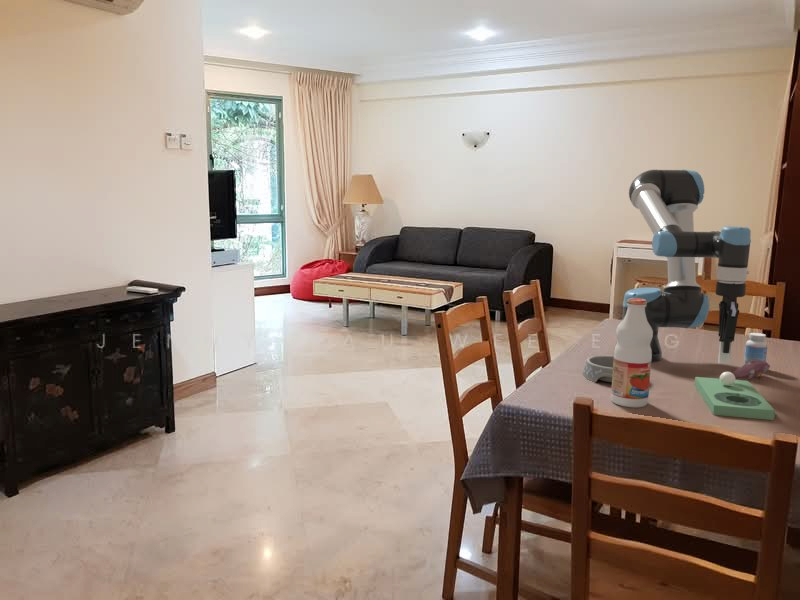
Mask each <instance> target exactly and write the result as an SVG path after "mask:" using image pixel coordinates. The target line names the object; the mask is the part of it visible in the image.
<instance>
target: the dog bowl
mask: <svg viewBox="0 0 800 600" xmlns="http://www.w3.org/2000/svg"><path fill="white" fill-rule="evenodd" d="M613 361H614V355H593V356H590V357H587V359H586V361H585V364H584V367H583V371H582V373H581V376H582V375H583V376H584V377H585V378H586V379H587V380H586V379H585V380H586V381H588V380H589V381H588V382H590V381H592V382H591V383H593V382H594V383H593V384H595V383H596V382H597V381H598V380H600V381H603V382H608V383H612V375H613Z"/></svg>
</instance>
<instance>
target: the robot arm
mask: <svg viewBox="0 0 800 600" xmlns="http://www.w3.org/2000/svg"><path fill="white" fill-rule="evenodd" d="M704 195H705V184H704V179H703V177H702V175H701V174H700V173H699V172H698V171H696V170H691V169H690V170H688V169H649V170H646V171H644V172H641V173H640V174H638V175H637V176H636V177H635V178H634V179H633V180H632V182H631V184H630V187H629V189H628V197H629V201H630V203H631V204H632V206H633V207H634V208H636V209H637V210H639V211H640V214H641V215H642V216H643V218H644V220H645V222H646V223H647V225H648V227H649V230H650V231H651V232H652V234H653V237H652V241H651V242H652V243H651V247H652V252H653V254H654V255H655V256H657V257H663V258H664V257H666V258H667V283H666V285H664V287H663V291H662V289H661V288H658V287H637V288H631V289H629V290H627V291H626V292H625V293H624V296H623V302H622V316H621V317H622V318H621V322H622V321H623V319H624V317H625V315H626V312H627V309H628V305H627V299H628V298H640V299H645V300H647V305H646V307H645V314H646V318H647V321H648V323H649V324H650V326H651V328H652V330H653V337H652V340H651V343H650V348H651V351H652V360H651V363H656V362H661V361H662V357H663V352H662V348H661V344H660V341H659V340H660V339H659V328H682V329H683V328H684V329H689V328H691V329H692V328H699V327H701V326H702V325H704V323H705V321H706V319H707V318H708V314H709V310H710V299H709V296H708V295H707V294H706V293H704V292H702V286H701V285H700V284H699V283H697V275H696V258H713V259H718V263H717V269H716V271H717V272H716V281H717V282H716V284H715V295H717V296H719V297H722V300H721V301H720V302H719V304H718V307H719V309H718V310H719V311H718V312H719V315H718V316H719V317H718V318H719V319H718V337H719V339H718V341H719V349H718V360H717V363H718V364H719V365H730V362H731V354H732V353H731V351H732V342H734V341H735V336H736V330H737V324H738V317H739V314H740V309H739V303H738V301H737V300H738V299H737V298H742V297H745V295H746V290H747V289H746V288H747V284H746V282H747V277H748V276H747V275H749V274H750V270H748V266H749V265H748V264H749V257H750V251H751V250H750V248H751V243H752V242H751V241H752V240H751V231H752V230H751V229H750V228H749V227H747V226H723V227H722V228H721V231H719V230H717V231H713V230H712V231H695V228H694V225H695V224H694V213H695V211H696V210H698V208H699V207H698V205H700V204H701V203H703V200H704V197H705V196H704ZM616 345H617V343H616V344H615V346H616Z"/></svg>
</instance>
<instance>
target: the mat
mask: <svg viewBox="0 0 800 600" xmlns="http://www.w3.org/2000/svg"><path fill="white" fill-rule="evenodd" d="M693 384H694V386H695V388H696V390H697V391H698V393H699V395H700V396H701V398H702V399H703V401H704V403H705V405H706V406H707V407H708V409H709V410H710V412H711V414H712V415H714V416H722V417H723V416H725V417H734V418H735V417H736V418H747V419H759V420H769V421H770V420H771V421H774V420H775V414H776V410H775V408H773V406H771V404H770V403H769V402H768V401H767V400H766V399H765V398H764V397H763V395H762V394H761V393H759V391H758V390H757V389H756V388H755V387H754V386H753V385H752V384H751V383H750V382H749V381H748V380H741V379H740V380H739V379H736V381H735V383H734V384H733V385H731V386H725V385H723V384H722V383H721V382H720V378H716V377H715V378H714V377H701V376H695V377H694V383H693Z"/></svg>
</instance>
